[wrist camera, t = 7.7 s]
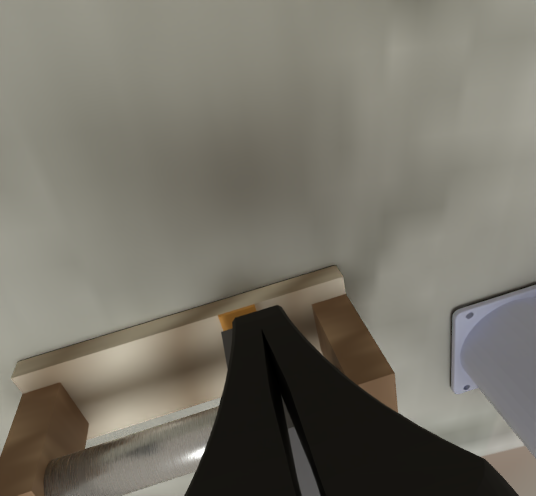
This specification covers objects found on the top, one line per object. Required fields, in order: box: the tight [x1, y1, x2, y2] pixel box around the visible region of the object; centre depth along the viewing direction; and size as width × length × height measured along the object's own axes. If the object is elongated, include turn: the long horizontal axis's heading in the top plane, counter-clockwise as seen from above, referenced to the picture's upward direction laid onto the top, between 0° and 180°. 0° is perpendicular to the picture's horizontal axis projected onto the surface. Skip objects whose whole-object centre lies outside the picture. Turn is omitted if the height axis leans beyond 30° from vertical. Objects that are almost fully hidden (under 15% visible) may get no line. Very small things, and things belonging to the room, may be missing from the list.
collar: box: [221, 329, 320, 496], centre depth 21 cm, size 2×6×6 cm, turn 13°
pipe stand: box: [0, 265, 398, 496], centre depth 22 cm, size 18×6×7 cm, turn 103°
